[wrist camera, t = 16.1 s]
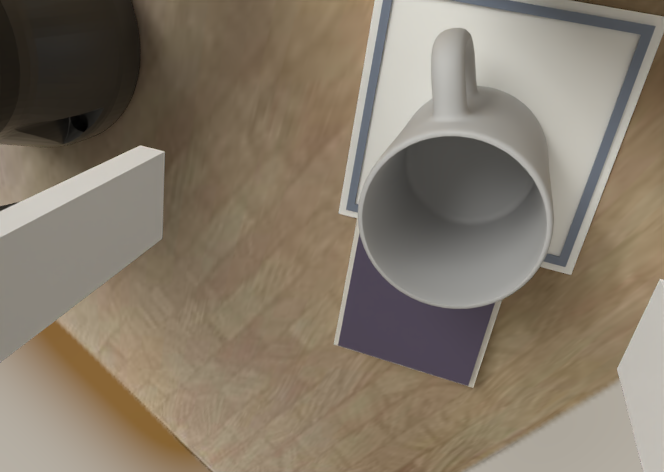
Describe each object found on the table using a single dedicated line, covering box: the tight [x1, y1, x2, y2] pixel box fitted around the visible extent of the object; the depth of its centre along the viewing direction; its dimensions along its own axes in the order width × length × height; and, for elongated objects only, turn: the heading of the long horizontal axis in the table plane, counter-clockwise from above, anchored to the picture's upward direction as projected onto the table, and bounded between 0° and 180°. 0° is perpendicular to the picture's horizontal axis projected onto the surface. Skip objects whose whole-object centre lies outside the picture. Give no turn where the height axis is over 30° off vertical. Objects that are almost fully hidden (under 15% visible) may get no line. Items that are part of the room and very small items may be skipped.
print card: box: [338, 0, 664, 275], centre depth 34 cm, size 15×15×1 cm
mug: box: [358, 28, 554, 309], centre depth 30 cm, size 12×8×11 cm
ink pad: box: [334, 218, 502, 388], centre depth 39 cm, size 10×10×2 cm
